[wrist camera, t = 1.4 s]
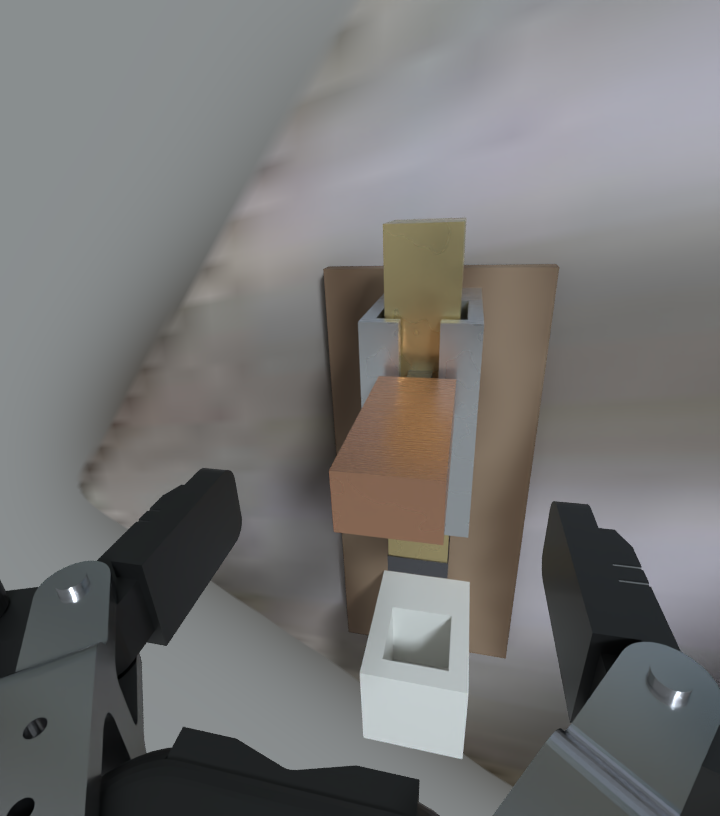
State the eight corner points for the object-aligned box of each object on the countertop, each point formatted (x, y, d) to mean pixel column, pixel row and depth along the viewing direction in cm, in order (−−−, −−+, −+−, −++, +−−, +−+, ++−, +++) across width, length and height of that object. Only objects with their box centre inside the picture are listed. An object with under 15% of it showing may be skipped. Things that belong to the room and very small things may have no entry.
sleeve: (481, 287, 23) (484, 323, 17) (469, 456, 28) (468, 537, 21) (389, 287, 24) (357, 321, 18) (390, 450, 29) (366, 525, 22)
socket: (469, 581, 32) (468, 693, 25) (464, 642, 34) (462, 759, 27) (384, 570, 33) (359, 673, 26) (385, 629, 35) (363, 737, 28)
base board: (555, 264, 23) (559, 267, 22) (504, 646, 35) (505, 658, 34) (328, 266, 26) (323, 269, 25) (351, 621, 37) (348, 631, 36)
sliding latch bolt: (467, 217, 19) (460, 243, 9) (450, 538, 26) (434, 758, 16) (394, 220, 20) (308, 247, 10) (396, 532, 27) (348, 739, 17)
